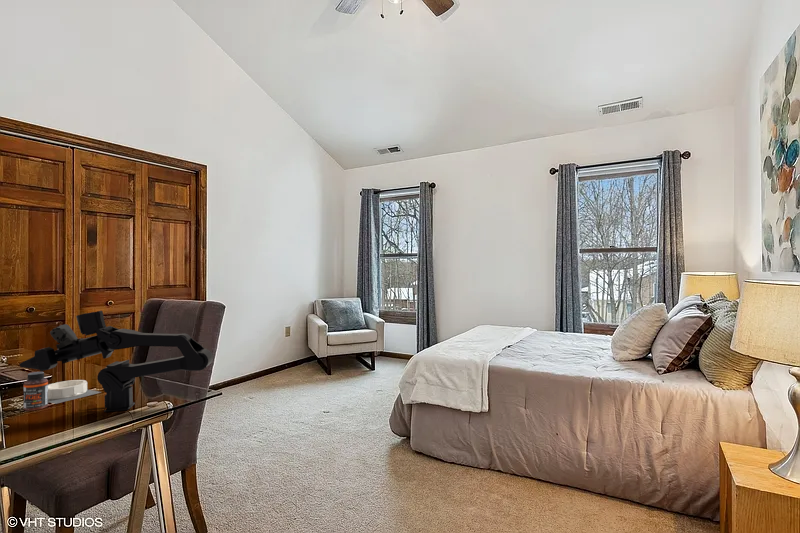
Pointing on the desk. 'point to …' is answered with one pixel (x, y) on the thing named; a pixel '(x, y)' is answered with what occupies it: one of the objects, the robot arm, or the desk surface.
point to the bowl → (66, 389)
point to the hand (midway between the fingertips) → (30, 361)
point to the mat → (89, 392)
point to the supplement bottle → (35, 391)
